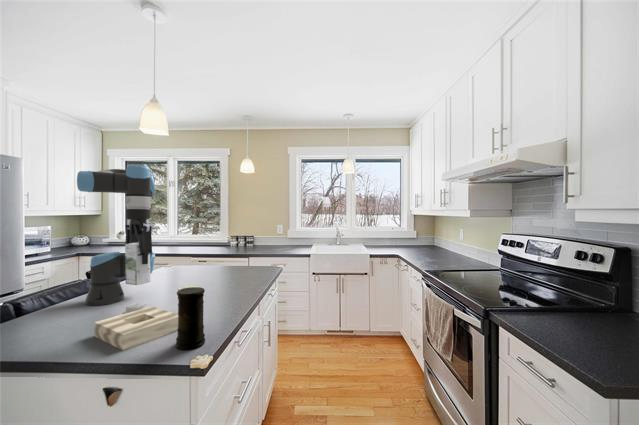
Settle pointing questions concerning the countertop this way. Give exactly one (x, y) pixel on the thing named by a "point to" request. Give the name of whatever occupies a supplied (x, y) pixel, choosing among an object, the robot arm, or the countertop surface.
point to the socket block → (136, 327)
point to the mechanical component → (134, 307)
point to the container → (190, 318)
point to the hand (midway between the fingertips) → (138, 272)
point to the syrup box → (135, 265)
